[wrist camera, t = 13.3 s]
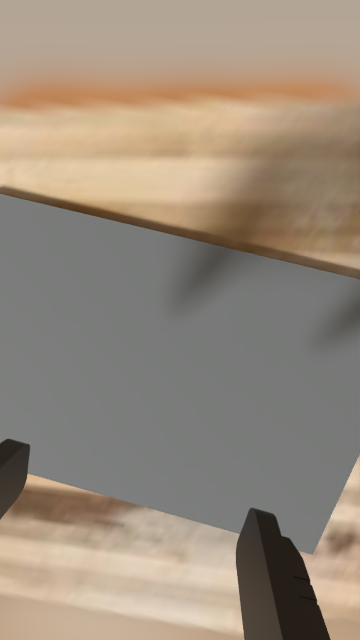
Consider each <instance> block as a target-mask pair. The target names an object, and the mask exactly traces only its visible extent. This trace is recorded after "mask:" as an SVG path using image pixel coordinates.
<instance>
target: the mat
mask: <svg viewBox="0 0 360 640" xmlns="http://www.w3.org/2000/svg"><path fill="white" fill-rule="evenodd" d="M6 439H12V440H16V441H19V442H23V443H27V444H29V445H30V455H29V464H28V472H27V473H28V474H32V475H35V476H39V477H42V478H46V479H49V480H53V481H56V482H60V483H63V484H67V485H70V486H74V487H77V488H81V489H84V490H88V491H91V492H95V493H98V494H102V495H105V496H109V497H112V498H116V499H119V500H123V501H126V502H130V503H133V504H137V505H140V506H144V507H147V508H151V509H154V510H158V511H161V512H165V513H168V514H172V515H176V516H179V517H183V518H186V519H190V520H193V521H197V522H200V523H204V524H207V525H211V526H214V527H218V528H221V529H225V530H228V531H232V532H235V533H239V534H240V533H241V530H242V528H243V525H244V522H245V520H246V517H247V514H248V512H249V509H250V508H255V509H259V510H262V511H266V512H270V513H273V514H274V515H275V516H276V519H277V522H278V525H279V528H280V532H281V535H282V536H284V537H288V538H290V539H291V541H292V542H293V544H294V545H295V547H296V549H297V550H298V551H302V552H305V553H309V554H312V555H313V553H314V551H315V548H316V546H317V544H318V542H319V540H320V538H321V536H322V533H323V531H324V529H325V527H326V525H327V523H328V521H329V518H330V516H331V514H332V512H333V510H334V508H335V506H336V503H337V501H338V499H339V497H340V495H341V493H342V491H343V488H344V486H345V484H346V482H347V480H348V478H349V476H350V473H351V471H352V469H353V467H354V465H355V463H356V461H357V458H358V456H359V454H360V279H357V278H353V277H349V276H344V275H340V274H336V273H332V272H328V271H323V270H319V269H315V268H311V267H307V266H302V265H298V264H294V263H290V262H286V261H281V260H277V259H273V258H269V257H264V256H260V255H256V254H252V253H248V252H243V251H239V250H235V249H231V248H227V247H222V246H218V245H214V244H210V243H206V242H201V241H197V240H193V239H189V238H184V237H180V236H176V235H172V234H168V233H163V232H159V231H155V230H151V229H147V228H142V227H138V226H134V225H130V224H126V223H121V222H117V221H113V220H109V219H104V218H100V217H96V216H92V215H88V214H83V213H79V212H75V211H71V210H67V209H62V208H58V207H54V206H50V205H46V204H41V203H37V202H33V201H29V200H25V199H20V198H16V197H12V196H8V195H3V194H0V443H1V442H3V441H4V440H6Z"/></svg>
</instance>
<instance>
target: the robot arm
mask: <svg viewBox="0 0 360 640" xmlns="http://www.w3.org/2000/svg"><path fill="white" fill-rule="evenodd" d="M29 455H30V445H29V444H27V443H23V442H19V441H16V440H12V439H6V440H4V441H3V442H1V443H0V519H1V518H2V517H3V515H4V514H5V513H6V512H7V510H8V509H9V508H10V507H11V506H12V504H13V503H14V502H15V501H16V499H17V498H18V496H19V495H20V493H21V492H22V490H23V488H24V485H25V483H26V479H27V472H28V464H29ZM236 567H237V576H238V585H239V594H240V603H241V612H242V621H243V630H244V639H245V640H330V637H329V634H328V631H327V628H326V625H325V622H324V619H323V616H322V613H321V611H320V608H319V605H317V599H316V596H315V593H314V590H313V587H312V585H310V579H309V576H308V573H307V570H306V567H305V564H304V561H303V558H302V557H301V555H300V553H299V552H298V550H297V549H296V547H295V545H294V544H293V542H292V541H291V539H290V538H288V537H284V536H282V535H281V532H280V528H279V525H278V522H277V519H276V516H275V515H274V514H273V513H270V512H266V511H262V510H259V509H255V508H250V509H249V512H248V514H247V517H246V520H245V522H244V525H243V528H242V530H241V533H240V536H239V538H238V542H237V548H236Z"/></svg>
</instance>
